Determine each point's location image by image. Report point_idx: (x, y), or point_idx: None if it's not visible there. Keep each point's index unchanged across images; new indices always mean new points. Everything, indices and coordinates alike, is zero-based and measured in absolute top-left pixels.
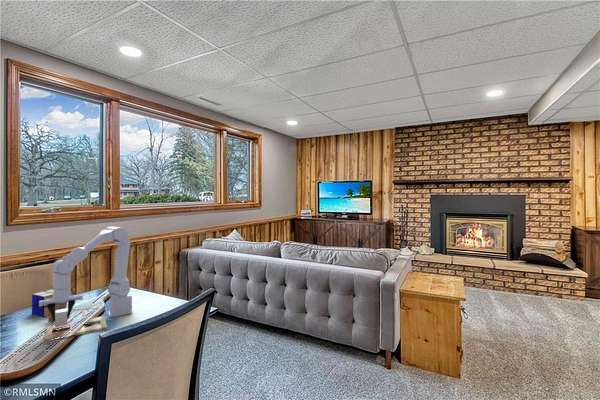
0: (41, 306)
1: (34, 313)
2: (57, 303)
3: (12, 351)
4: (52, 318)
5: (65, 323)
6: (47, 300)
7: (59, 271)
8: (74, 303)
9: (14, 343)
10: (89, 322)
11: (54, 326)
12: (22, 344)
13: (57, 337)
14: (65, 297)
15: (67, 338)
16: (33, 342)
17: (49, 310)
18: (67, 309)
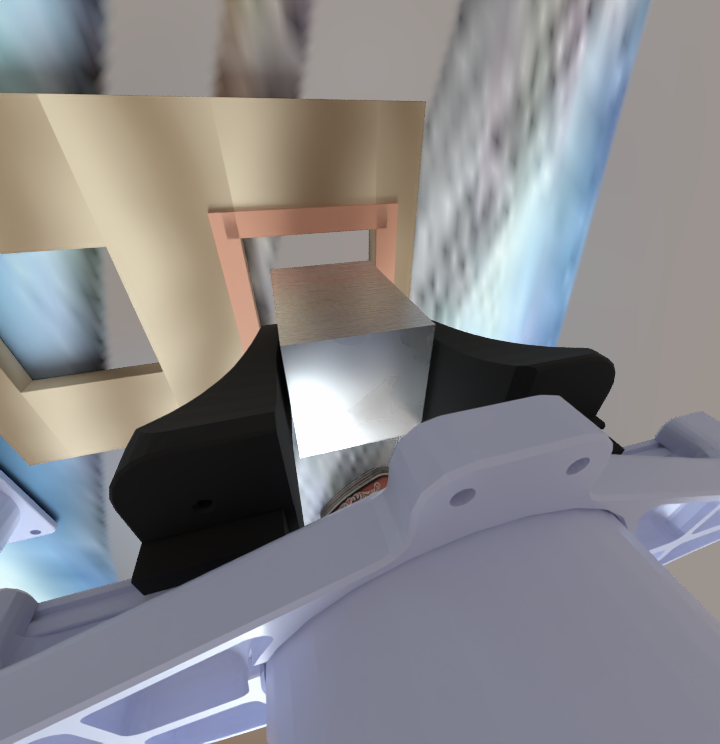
0: None
1: None
2: None
3: (607, 33)
4: (382, 483)
5: (285, 275)
6: (698, 524)
7: None
8: (124, 457)
9: (553, 229)
10: (120, 375)
11: None
12: (530, 172)
13: (321, 101)
14: (408, 663)
15: (222, 56)
16: (475, 166)
17: (533, 345)
18: (293, 418)
